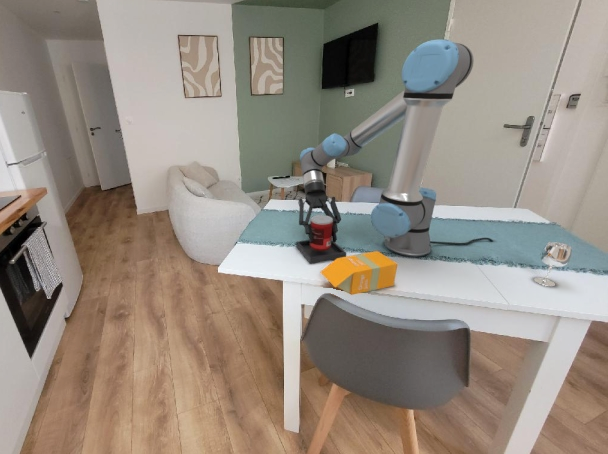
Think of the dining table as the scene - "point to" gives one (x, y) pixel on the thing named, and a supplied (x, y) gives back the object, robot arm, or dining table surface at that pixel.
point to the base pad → (320, 252)
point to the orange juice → (361, 272)
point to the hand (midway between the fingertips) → (323, 241)
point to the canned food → (321, 232)
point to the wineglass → (554, 259)
